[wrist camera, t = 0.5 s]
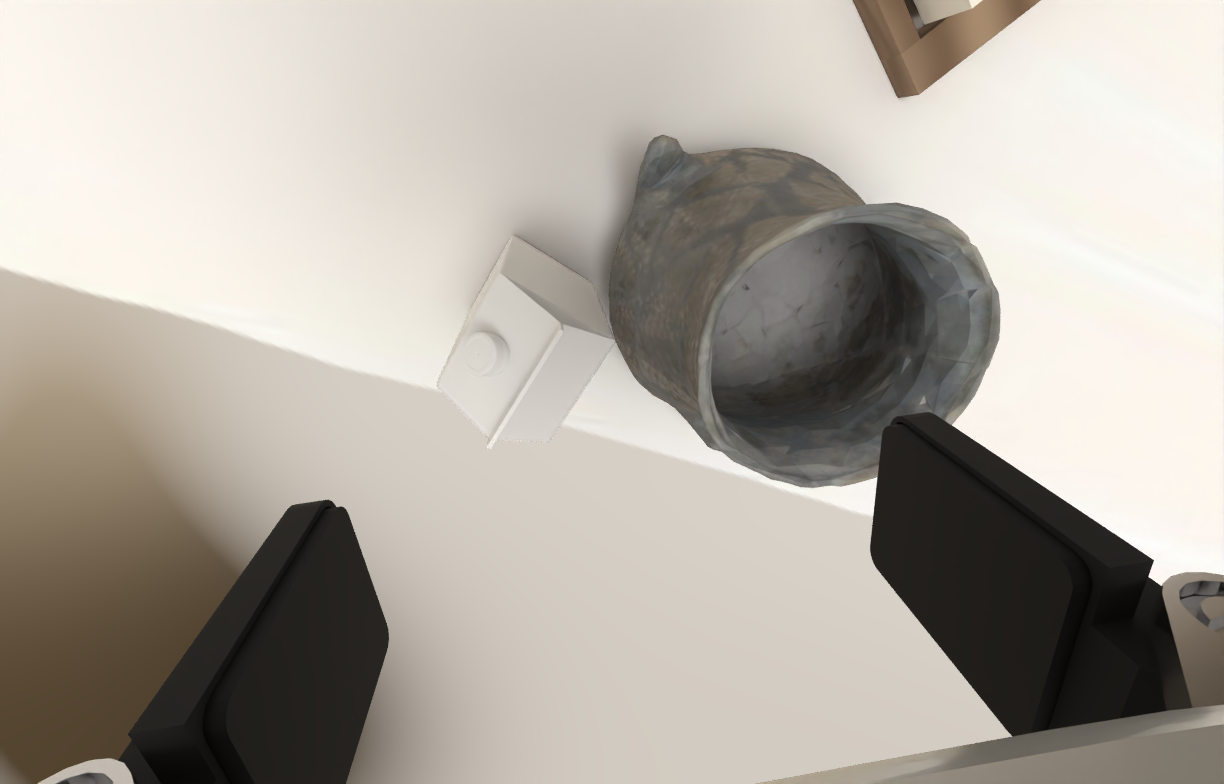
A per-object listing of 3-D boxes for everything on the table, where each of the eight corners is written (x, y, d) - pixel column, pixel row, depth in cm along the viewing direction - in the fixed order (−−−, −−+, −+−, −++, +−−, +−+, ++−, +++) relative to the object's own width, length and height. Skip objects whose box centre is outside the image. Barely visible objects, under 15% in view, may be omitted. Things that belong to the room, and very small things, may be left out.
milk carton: (593, 282, 44) (626, 366, 27) (547, 356, 46) (550, 479, 29) (512, 233, 42) (492, 289, 25) (468, 312, 44) (419, 417, 27)
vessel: (860, 379, 50) (1042, 509, 32) (616, 416, 49) (660, 573, 31) (880, 110, 42) (1146, 75, 23) (584, 145, 40) (619, 137, 22)
